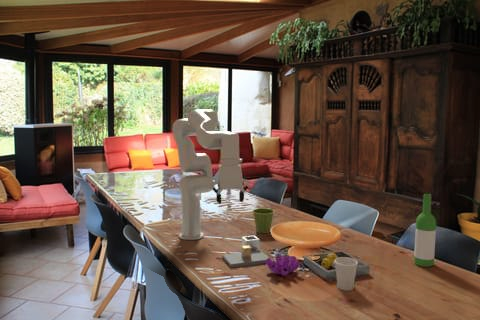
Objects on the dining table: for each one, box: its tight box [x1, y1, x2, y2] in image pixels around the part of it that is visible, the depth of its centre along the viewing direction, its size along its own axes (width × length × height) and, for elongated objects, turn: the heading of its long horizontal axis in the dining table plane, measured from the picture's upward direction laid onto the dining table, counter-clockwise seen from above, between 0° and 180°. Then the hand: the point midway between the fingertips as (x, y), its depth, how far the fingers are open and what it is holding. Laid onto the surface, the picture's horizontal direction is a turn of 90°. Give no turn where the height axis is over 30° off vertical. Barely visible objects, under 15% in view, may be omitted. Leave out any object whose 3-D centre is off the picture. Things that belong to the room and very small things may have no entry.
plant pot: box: [251, 207, 276, 234], centre depth 227 cm, size 12×12×11 cm
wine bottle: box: [413, 193, 437, 268], centre depth 179 cm, size 8×8×30 cm
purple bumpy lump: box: [265, 254, 302, 277], centre depth 171 cm, size 11×15×10 cm
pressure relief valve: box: [320, 253, 338, 270], centre depth 175 cm, size 6×12×10 cm
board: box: [221, 245, 270, 268], centre depth 185 cm, size 12×18×6 cm, turn 109°
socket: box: [241, 234, 261, 251], centre depth 197 cm, size 6×6×6 cm
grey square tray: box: [302, 250, 371, 282], centre depth 176 cm, size 19×19×4 cm
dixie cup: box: [334, 257, 358, 291], centre depth 157 cm, size 8×8×10 cm
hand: (230, 202), depth 182 cm, fingers open, 9 cm apart
